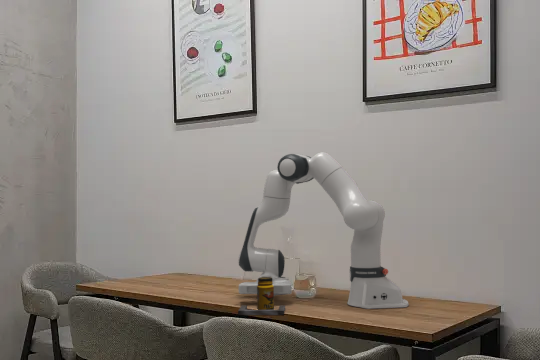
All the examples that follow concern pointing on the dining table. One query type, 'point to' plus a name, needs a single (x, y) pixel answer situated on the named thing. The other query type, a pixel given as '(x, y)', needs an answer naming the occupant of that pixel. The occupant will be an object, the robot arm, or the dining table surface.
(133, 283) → the dining table surface
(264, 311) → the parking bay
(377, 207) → the robot arm
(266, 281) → the condiment
